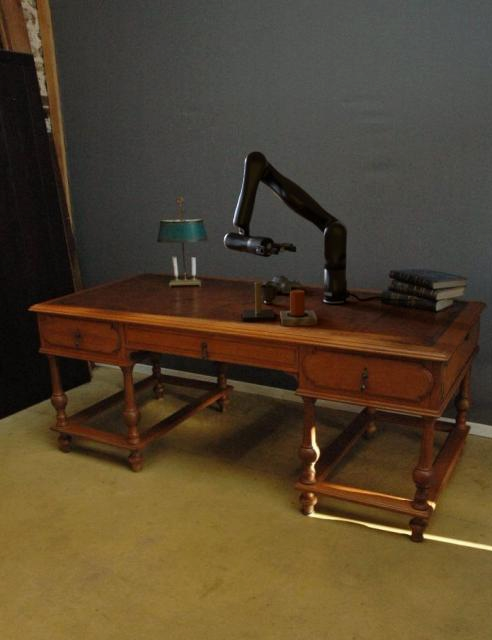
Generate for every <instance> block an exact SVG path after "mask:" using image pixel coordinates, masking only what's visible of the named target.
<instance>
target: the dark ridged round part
mask: <svg viewBox="0 0 492 640" xmlns="http://www.w3.org/2000/svg"><path fill="white" fill-rule="evenodd" d="M276 292H277V285H272V284H271V285H270V284H268V286H267V284H266V285H264V284H263V283H262V284H261V300H263V303H264V305H266V306H271V305H273V303H274V300H275V299H276V297H277V294H276Z"/></svg>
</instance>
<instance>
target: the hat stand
mask: <svg viewBox="0 0 492 640" xmlns="http://www.w3.org/2000/svg"><path fill="white" fill-rule="evenodd" d="M261 285H262V284H261V282H260V281H257V282H254V302H255V303H254V305H255V307H254V308H255V309H242V317H243V318H242V320H243V322H269V321H275V320H276V319H275V313H274V309H273V308H267V309H266V308H265V309H264V308H263V309H262V298H261Z"/></svg>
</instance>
